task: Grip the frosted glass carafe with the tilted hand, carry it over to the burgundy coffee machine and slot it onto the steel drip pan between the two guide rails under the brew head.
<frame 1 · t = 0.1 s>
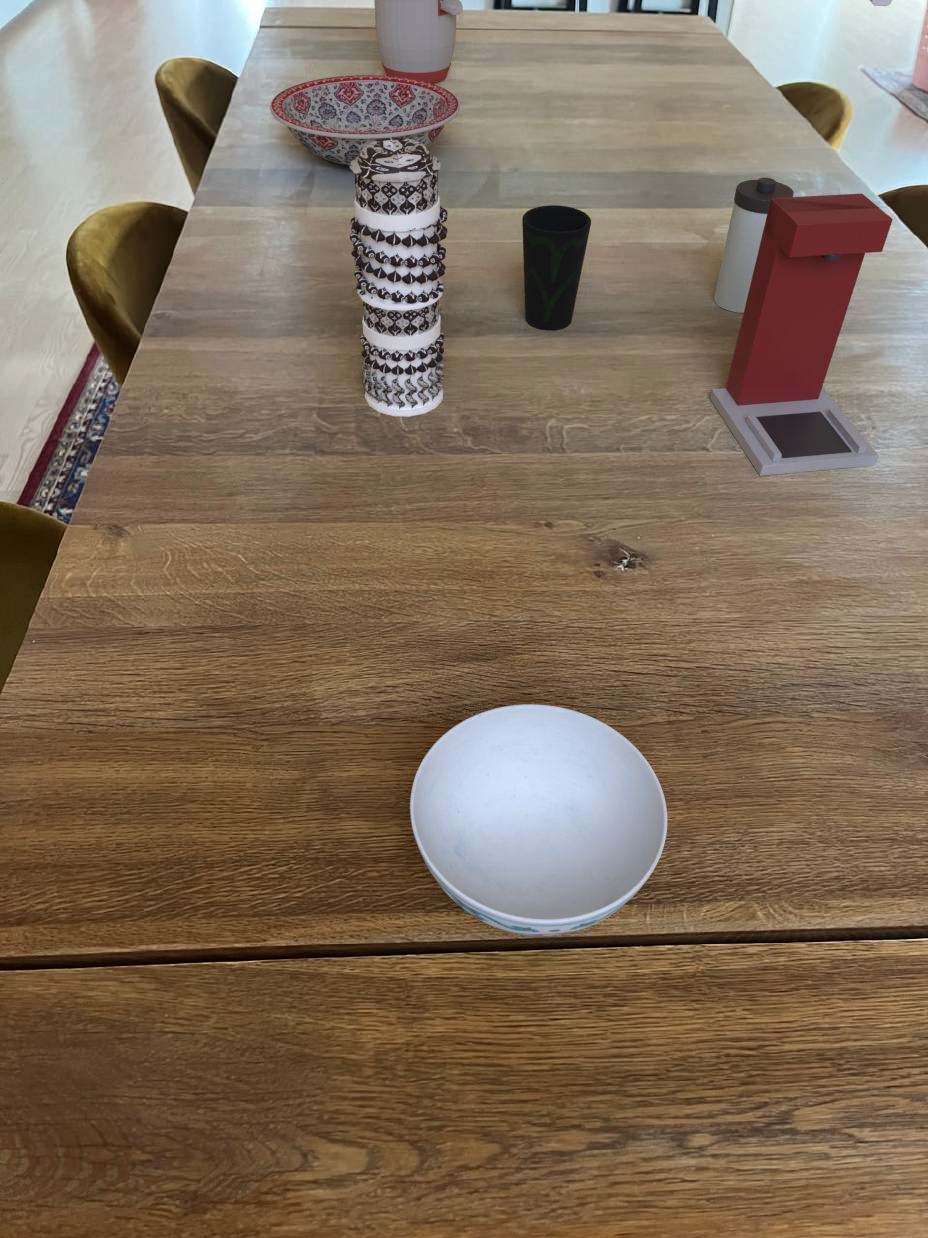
ceramic bowl: (368, 158, 151), on the table
coffee machine: (788, 430, 97), on the table
cup: (548, 320, 113), on the table
chinaware: (529, 872, 61), on the table
citrus juicer: (420, 79, 181), on the table
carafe: (739, 301, 117), on the table
stacked patterned cylinder: (404, 396, 101), on the table
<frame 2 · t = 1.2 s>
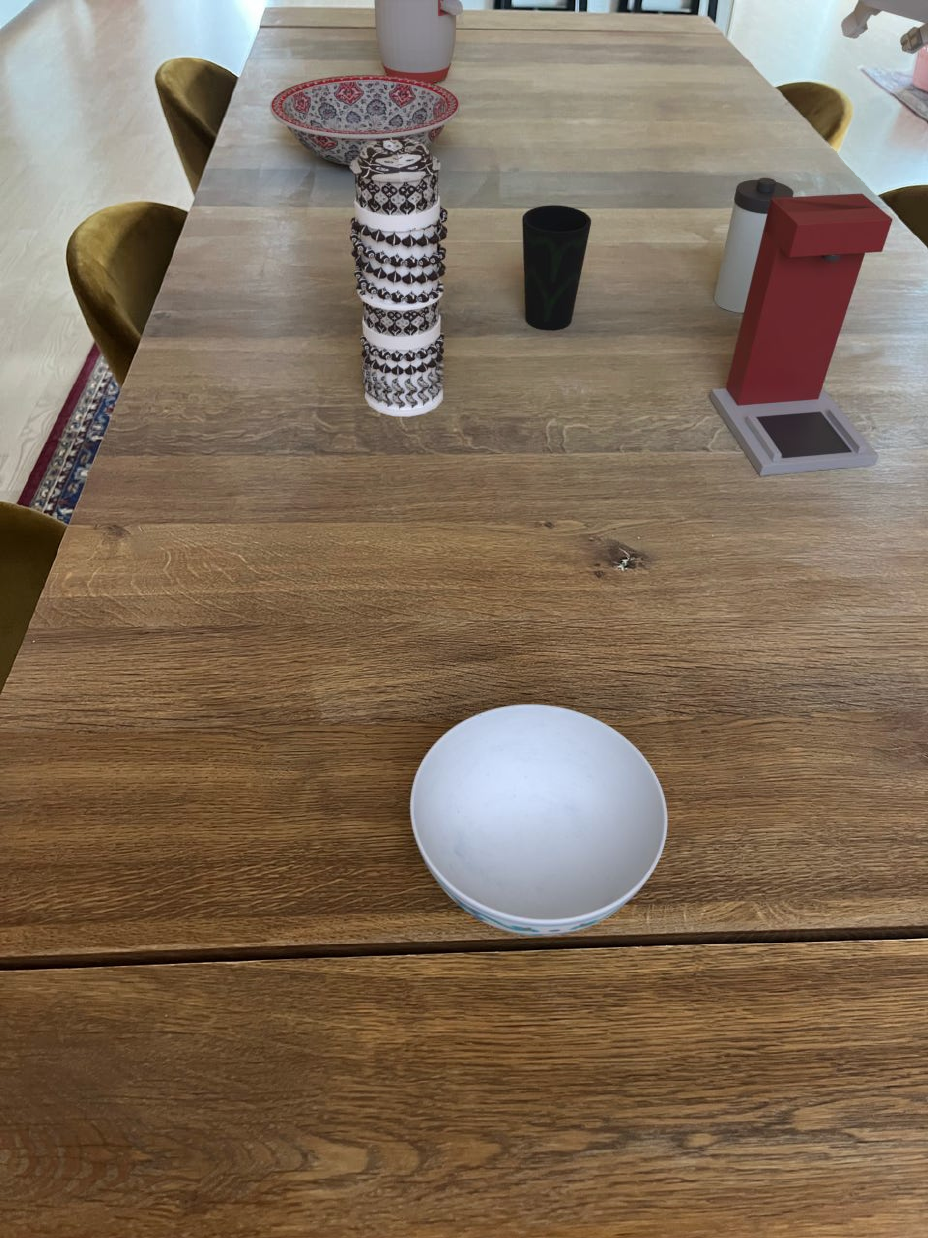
hand: (876, 39, 98), 28 cm above the table, tool tilted 45°, fingers open, 8 cm apart
nothing on the table moved.
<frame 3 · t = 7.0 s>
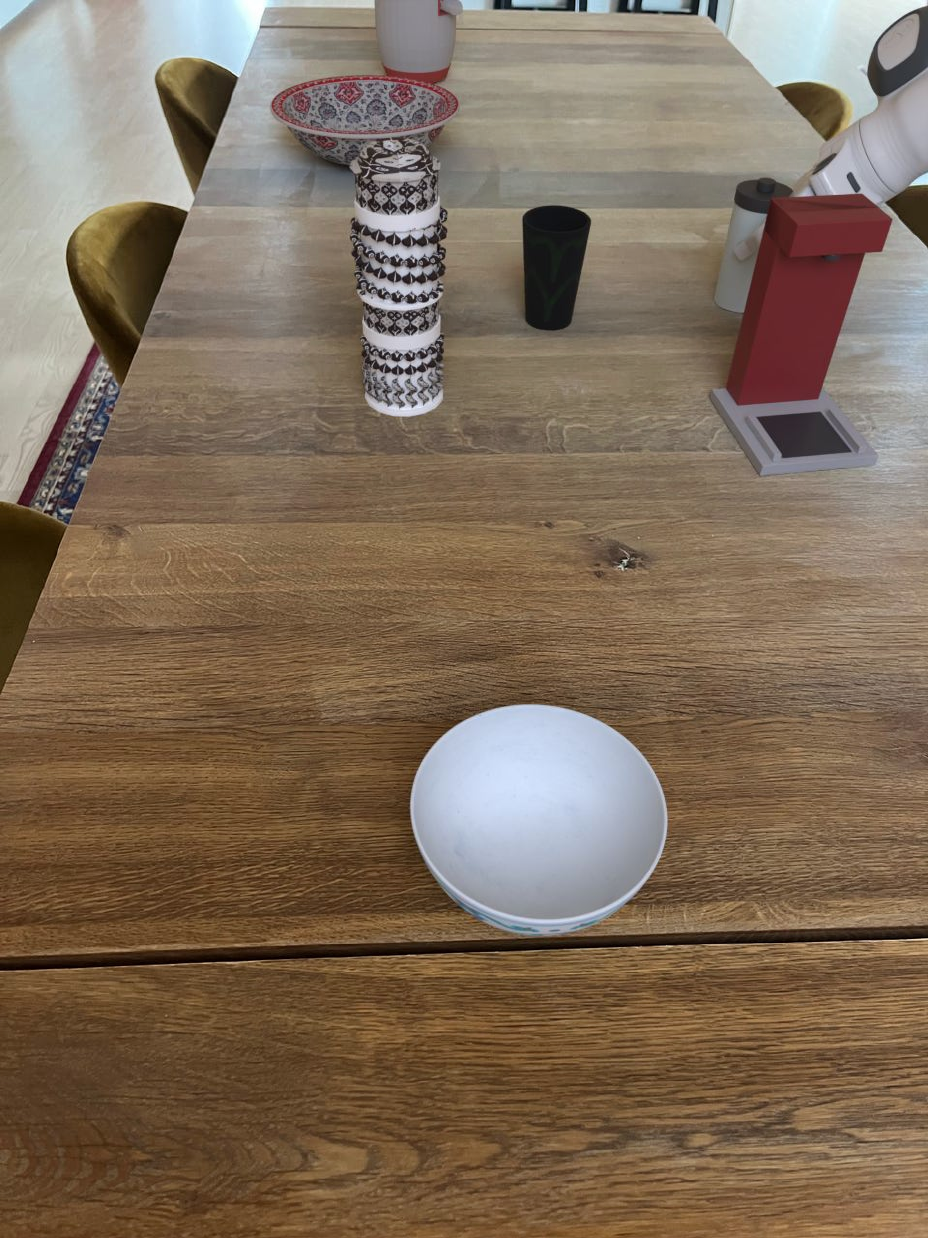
hand: (747, 241, 112), 7 cm above the table, tool tilted 45°, fingers closed on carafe, 6 cm apart
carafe: (738, 301, 117), on the table, touching gripper
everything else where it was.
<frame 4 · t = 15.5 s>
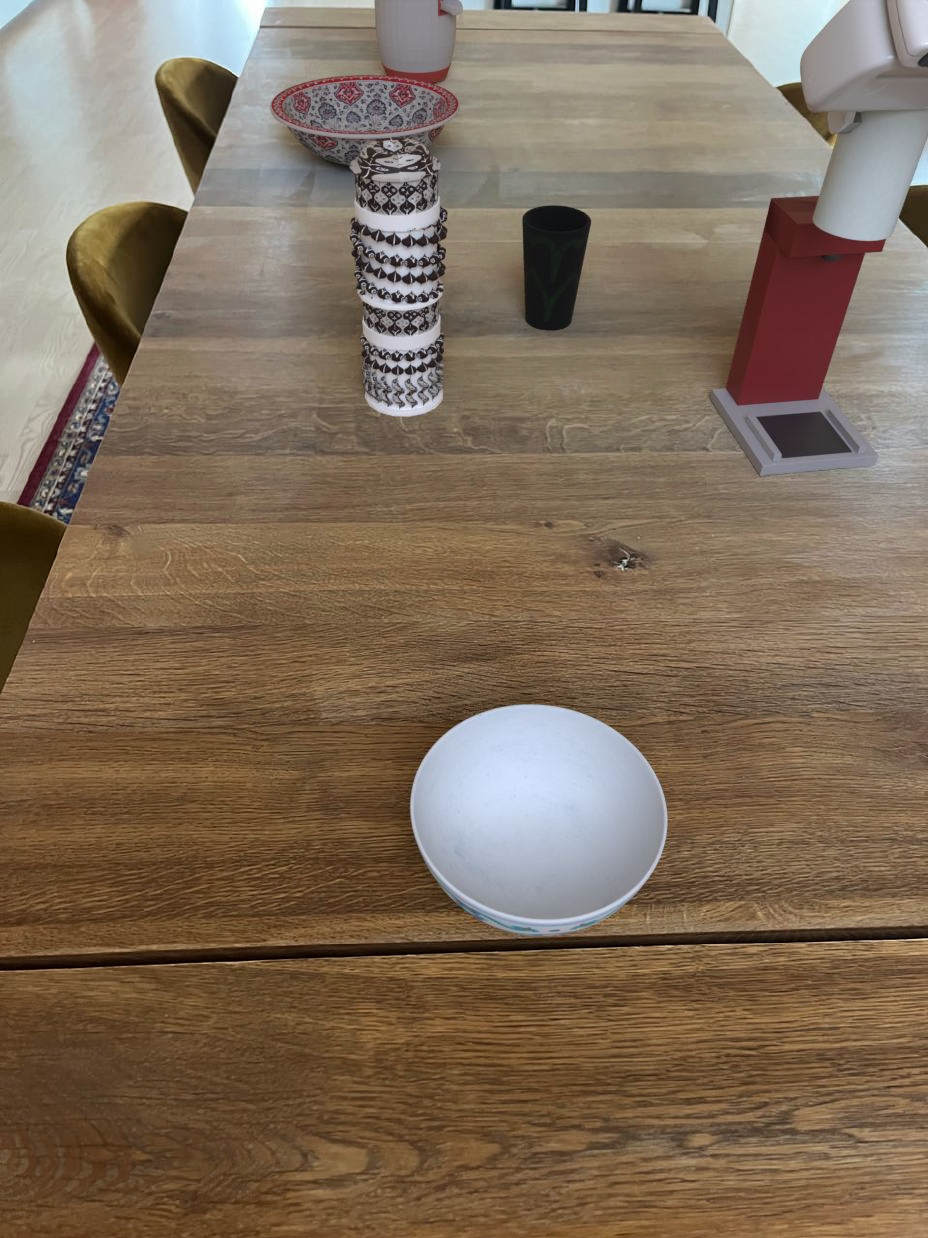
hand: (881, 122, 70), 31 cm above the table, tool tilted 45°, fingers closed on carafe, 6 cm apart
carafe: (852, 225, 74), point 24 cm above the table, touching gripper
everything else where it was.
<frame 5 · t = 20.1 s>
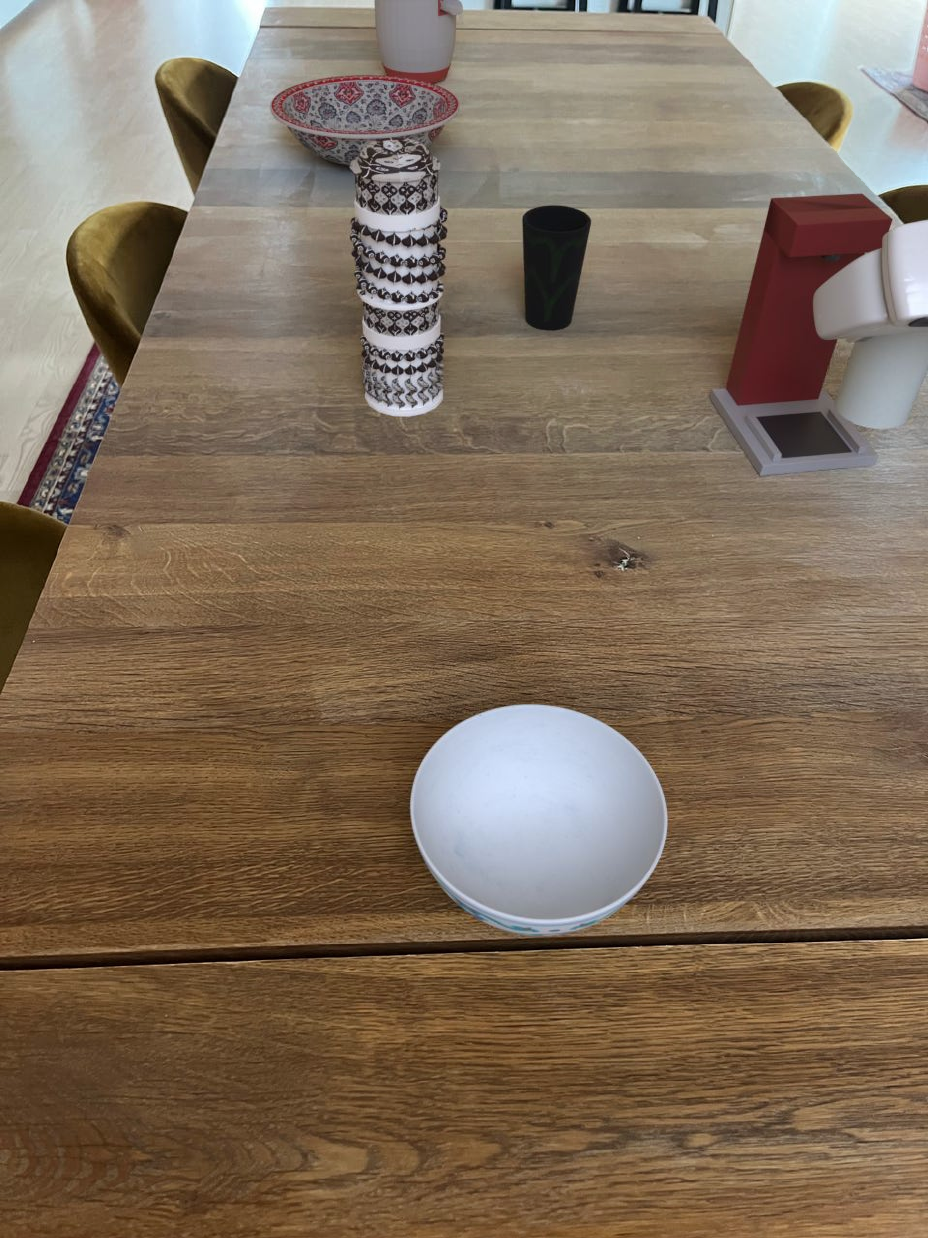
hand: (895, 329, 77), 17 cm above the table, tool tilted 45°, fingers closed on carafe, 6 cm apart
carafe: (870, 409, 82), point 10 cm above the table, touching gripper
everything else where it was.
when the fingers open (8 cm above the table, at t = 24.1 s): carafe stays where it is, resting on coffee machine.
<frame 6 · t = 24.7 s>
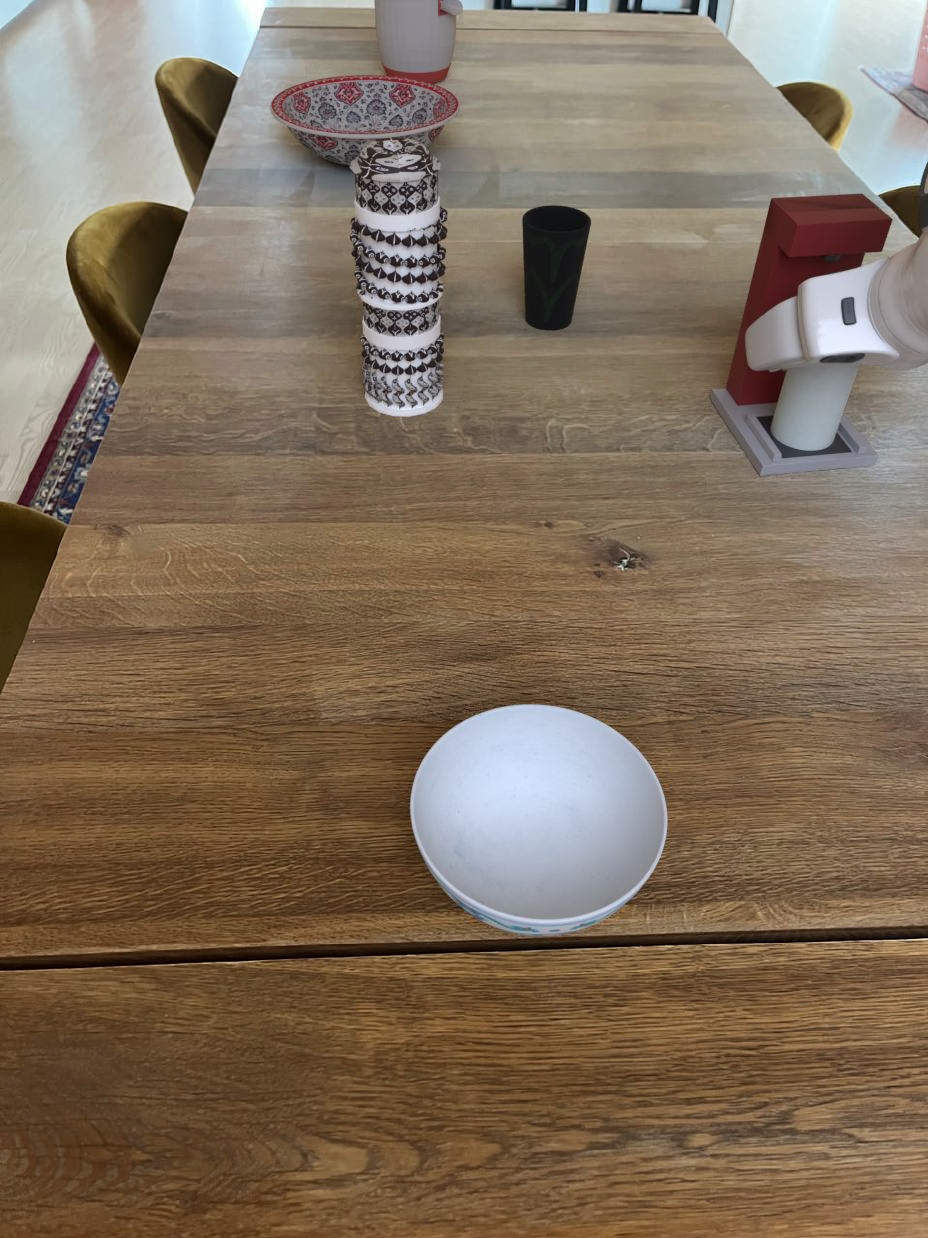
hand: (822, 359, 89), 9 cm above the table, tool tilted 45°, fingers open, 8 cm apart
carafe: (801, 433, 94), point 1 cm above the table, touching coffee machine
everything else where it was.
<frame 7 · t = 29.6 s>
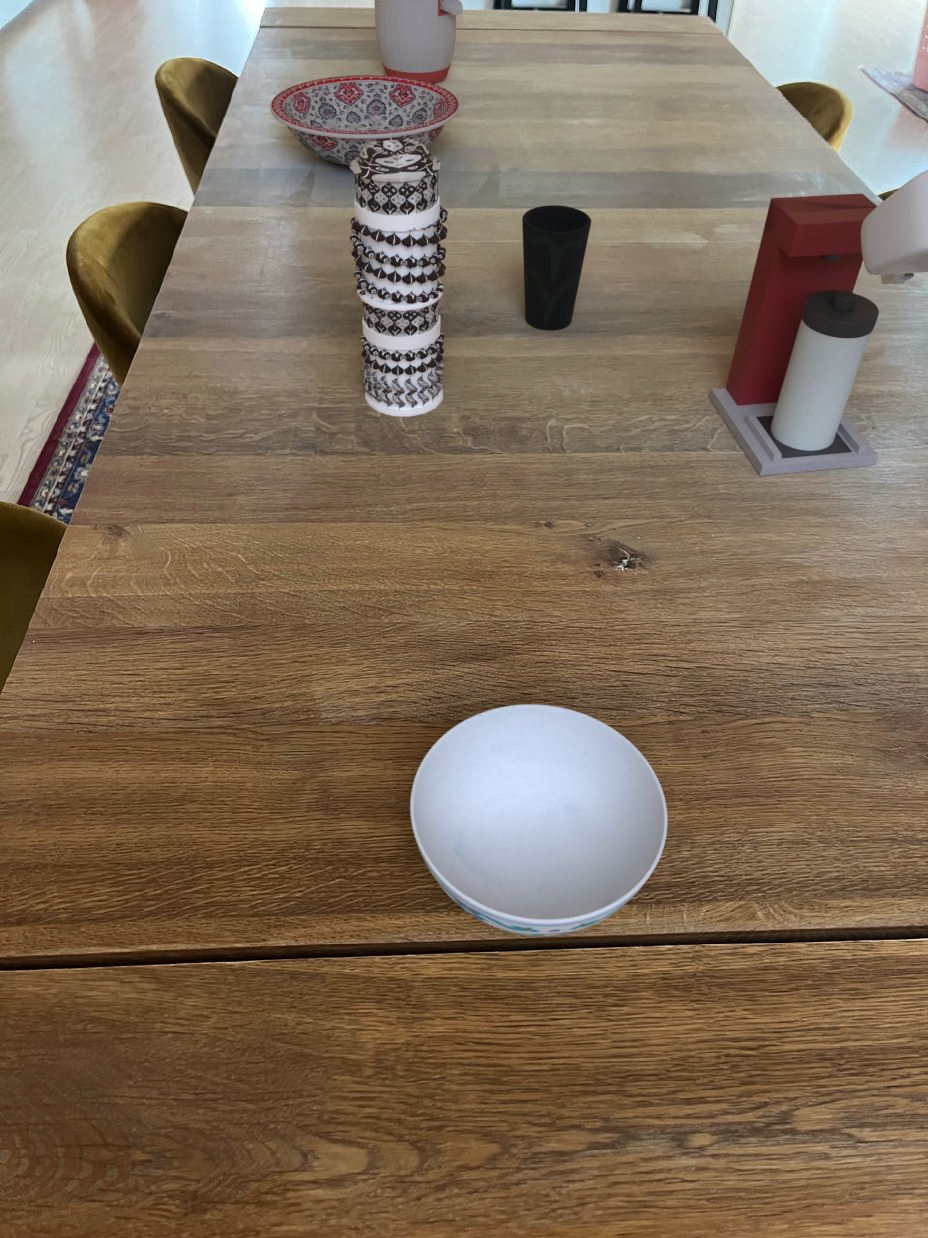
nothing on the table moved.
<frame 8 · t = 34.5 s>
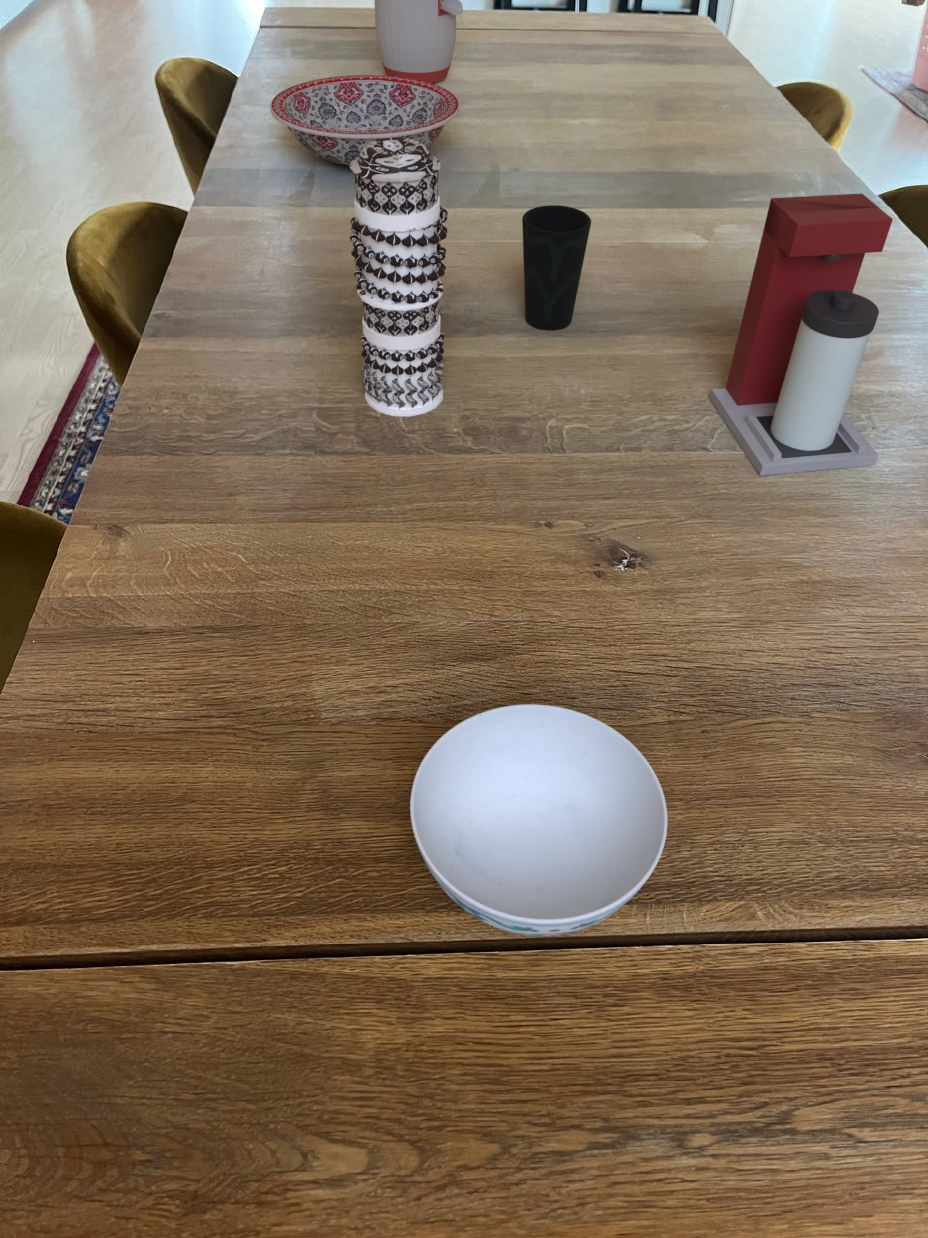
nothing on the table moved.
at the end: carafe 0.2 cm from the target spot on the coffee machine, point 1.3 cm above the coffee machine's base; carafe tilted 0°; the gripper is holding nothing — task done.
